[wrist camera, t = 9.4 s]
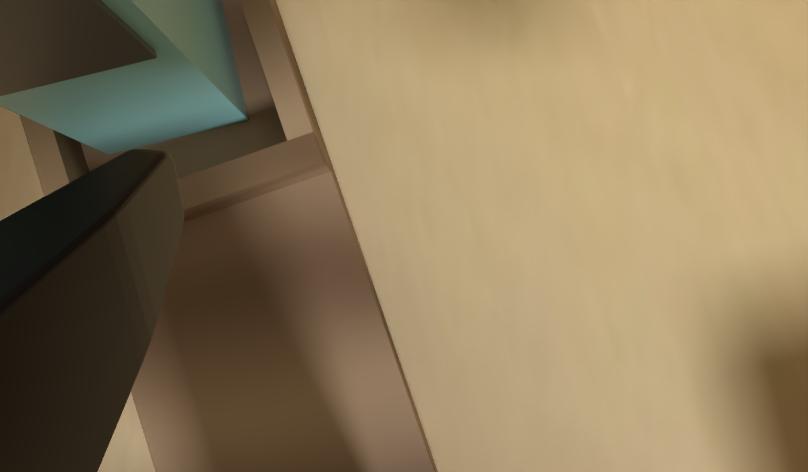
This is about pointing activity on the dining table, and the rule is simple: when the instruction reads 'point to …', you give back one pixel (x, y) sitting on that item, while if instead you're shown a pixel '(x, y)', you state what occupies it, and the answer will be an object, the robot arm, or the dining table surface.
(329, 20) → the dining table surface
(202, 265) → the brown wooden stand
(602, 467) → the dining table surface
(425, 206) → the dining table surface
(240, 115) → the finger block
